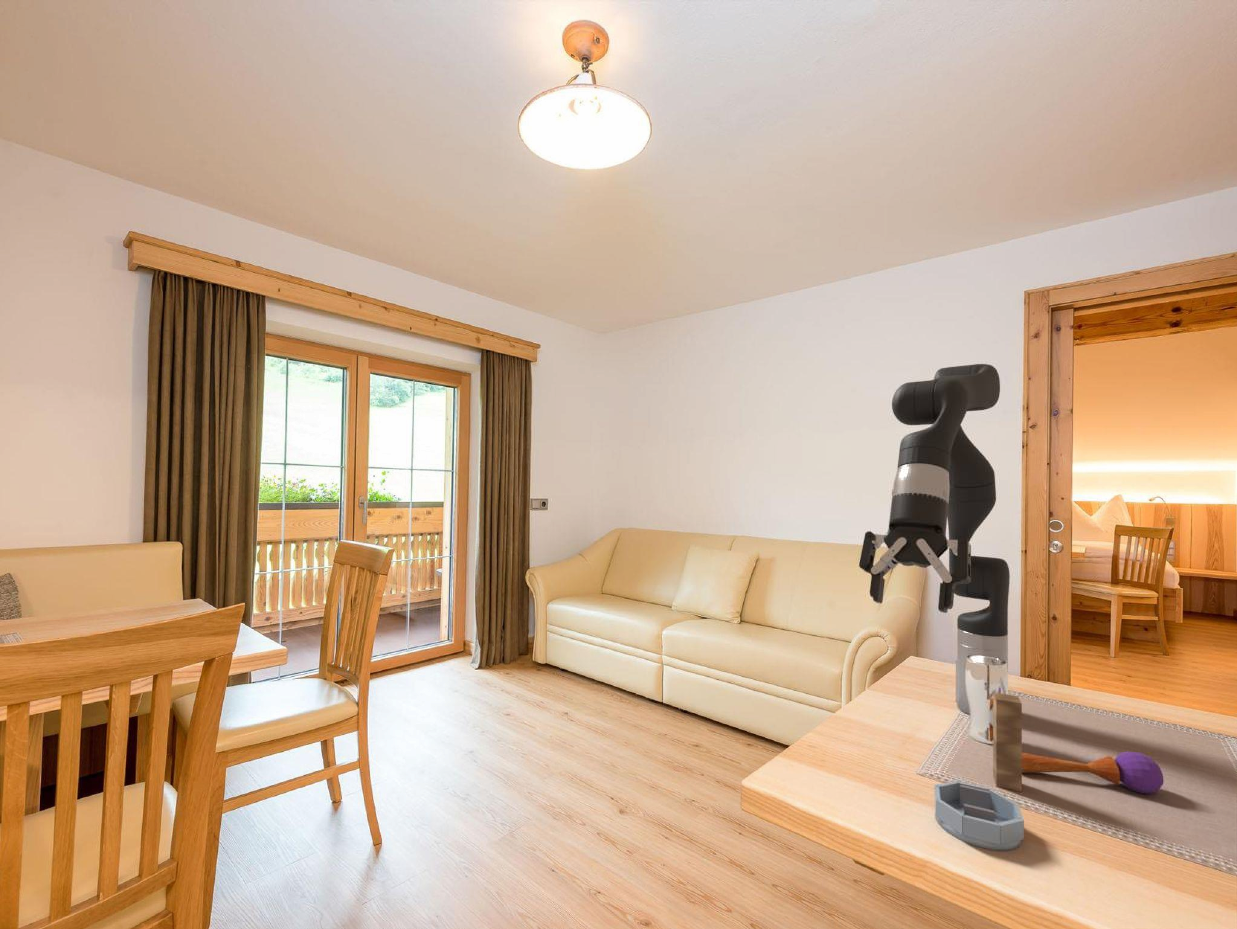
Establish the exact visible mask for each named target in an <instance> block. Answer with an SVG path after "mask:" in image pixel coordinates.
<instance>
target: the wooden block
mask: <svg viewBox="0 0 1237 929" xmlns="http://www.w3.org/2000/svg"><path fill="white" fill-rule="evenodd" d="M1022 708H1023V704H1022V702H1021V700H1020V698H1019V695H1011V694H1008V695H1007V694H1000V693H994V692H993V748H992V750H993V753H992V755H993V757H992V758H993V759H992V760H993V761H992V762H993V764H992V765H993V768H992V770H993V773H992V777H993V780H994V783H995V784H994V785H995V787H998V788H1000V789H1001V788H1002V789H1006V790H1009V791H1015V792H1019V793H1022V792H1023V781H1022V780H1023V773H1022V753H1023V749H1022V748H1023V744H1022V743H1023V742H1022V741H1023V735H1022V734H1023V733H1022V732H1023V730H1022V729H1023V728H1022V727H1023V725H1022V724H1023V722H1022V719H1023V718H1022V714H1023V710H1022Z"/></svg>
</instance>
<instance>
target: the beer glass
mask: <svg viewBox="0 0 1237 929" xmlns="http://www.w3.org/2000/svg"><path fill="white" fill-rule="evenodd" d="M965 685H966V692H967V698H968V703H969V708H970V714H969V716H970V718H969V725H968V730H967V735H968V736H969V737H970V738H971V739H972V740H974V741H976V742H979V743H983V744H987V745H993V692H994V693H1000V694H1007V695H1009V672H1008V673H1007V663H1006V662H1005V661H1004V660H1002V659H999V658H996V657H991V656H986V655H968V656H967V661H966V671H965Z"/></svg>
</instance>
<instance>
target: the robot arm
mask: <svg viewBox="0 0 1237 929" xmlns="http://www.w3.org/2000/svg"><path fill="white" fill-rule="evenodd" d="M1000 380H1001V378H1000V375H999V373H998V370H997V368H995V366H993V365H991V364H987V363H975V364H966V365H958V366H947V367H942V368H939V369H937V371H936V372H935V374H934V378H933V379H931V380H929V379H928V380H921V381H918V380H917V381H912V382H911V381H910V382H905V383H903V384H902V385H900V386H899V387H898V388H897V389H896V390H895V392H894V394H893V397H892V400H891V410H892V413H893V415H894V416H895V418H896V419H897V421H899V423H901V424H904V425H906V426H925V425H926V426H927V425H931V426H929V427H927V428H924V429H921V430H917V431H914V432H911V433H909V434H908V433H907V434H906V435H904V437H903V438H902V439H901V441H900V445H899V452H898V461H897V470H896V474H895V478H894V481H893V486H892V487H893V488H892V490H891V504H890V511H889V512H890V513H889V520H888V530H887V532H886V533H885V534H878V533H873V532H872V531H865V533H864V538H863V543H862V547H861V552H860V558H859V564H858V567H859V568H860V569H862V570H863V571H864V572H865V573H867V574H870V576H871V577H870V578H871V579H870V587H869V595H870V597H871V598H872V600H873V602H875V603H877V604H883V600H884V591H885V581H886V579H885V578H884V577H885V576H886V575H887V574H888V573H890V571H891V570H894V569H895V568H896V567H897V566H898V565H899V564H901V565H902V566H905V567H913V566H915V567H919V568H925V569H927V567H931V566H932V568H933V569H934V571H936V573H937V574H938V576H939V577H940V579H941V580H942V582H940V584H939V592H938V593H939V596H938V606H937V607H938V611H939V612H940V613H944V614H947V613H948V610H952V608H953V607H954V602H955V601H954V597H955V595H956V596H958V597H962V598H969V599H976V600H983V601H988V602H989V604H988V606H986V607H984V608H983V609H980V610H975V611H968V612H963V613H961V614H959V615H958V616H957V620H956V622H957V624H956V626H957V627H956V628H957V632H956V634H957V636H956V637H957V640H956V641H957V642H956V643H957V644H956V645H957V649H956V650H957V652H956V653H957V654H956V655H957V656H956V660H955V702H956V703H957V704H956V706H957V708H958V709H959V710H960V711H962V712H964V713H965V714H968V715H970V708H969V703H968V698H967V692H966V685H965V671H966V661H967V656H968V655H986V656H991V657H996V658H999V659H1002V660H1004V661H1005V662H1006V663H1007V673H1008V674H1009V649H1008V648H1009V636H1008V634H1009V630H1008V629H1009V626H1008V625H1009V624H1008V623H1009V622H1008V621H1009V616H1008V615H1009V614H1008V613H1009V594H1010V593H1009V592H1010V578H1011V575H1010V567H1009V564H1008V562H1007V561H1006V560H1005V559H1003V558H999V557H990V556H989V557H987V556H980V555H979V556H977V555H972V545H971V543H970V541H971V539H972V538H973V536H974V534H975V533H976V531H977V530H978V529H979V527H981V525H982V524H983V522H985V520H986V519H987V517H988V516H989V515H990V513H991V512H992V510H993V509H994V507H995V505H996V503H997V491H996V490H997V489H996V476H995V470H994V469H993V466H992V465H991V463H990V461H989V460H988V459H987V458H986V456H985V455H984V454H983V453H982V451H980V450H979V448H978V447H977V446H976V445H975V444H974V443H973V442H972V441H971V440H970V439H969V437H968V436H967V434H966V432H965V431H964V429H963V427H962V425H961V424H962V423H963V421H964V418H965V417H966V414H967V412H977V411H985V410H989V409H991V408H993V407H995V406H996V404H997V403H998V401H999V399H1000V394H1001V381H1000ZM947 526H948V527H947ZM947 528H948V539H947V536H946V534H947ZM883 544H885V545H886V547H887V550H886V552H884V554H883V555H881V556H880V558H879V561H877V562H876V563H875V564H874V562H875V557H876V552H877V549H880V547H881V546H882V545H883ZM947 551H948V569H947V567H946V566H945V565H944V563H943V562H942V561H941V559H940V557H941V556H943V554H944V553H946V552H947Z"/></svg>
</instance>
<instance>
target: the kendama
mask: <svg viewBox="0 0 1237 929" xmlns="http://www.w3.org/2000/svg"><path fill="white" fill-rule="evenodd" d="M1084 772H1085V773H1087V772H1088V773H1091V774H1092V775H1095V776H1097V777H1099V778H1101V779H1104V780H1105V781H1108V782H1110V783H1112V784H1114V785H1118V786H1119V785H1120V783H1122V785H1124V786H1125V787H1126V788H1127V789H1128V790H1131V791H1134V792H1136V793H1140V794H1148V795H1149V794H1153V793H1155V792H1158V791H1159V790H1160V789H1161V787H1162V786H1163V785H1164V775H1163V772H1162V770H1161V767H1160V765H1158V763H1157V762H1155V761H1154V760H1153V759H1152V758H1151V757H1150V756H1148V755H1146V754H1143V753H1142V752H1141V753H1140V752H1138V751H1137V752H1135V751H1123V752H1121V753H1118V754H1117V756H1116V757H1115V758H1114V757H1113V756H1111V755H1106V756H1104V757H1101V758H1098V759H1096V760H1094V761H1091V762H1088V763H1081V762H1077V761H1071V760H1063V759H1059V758H1054V757H1048V756H1042V755H1038V754H1037V755H1036V754H1031V753H1025V752H1022V774H1023V773H1025V774H1026V773H1032V774H1033V773H1084Z"/></svg>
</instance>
